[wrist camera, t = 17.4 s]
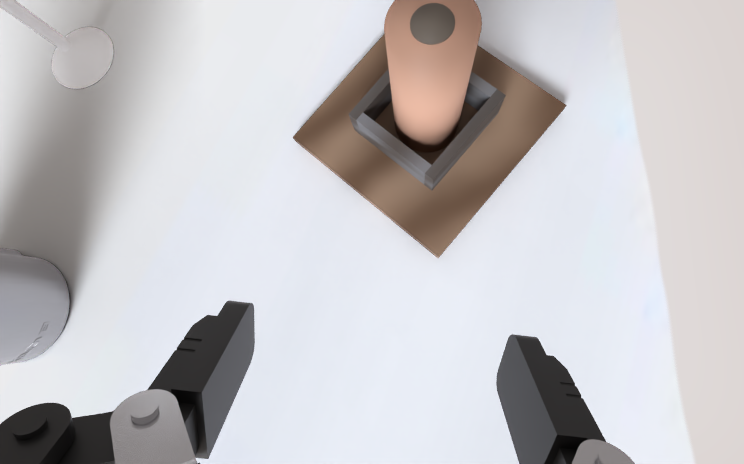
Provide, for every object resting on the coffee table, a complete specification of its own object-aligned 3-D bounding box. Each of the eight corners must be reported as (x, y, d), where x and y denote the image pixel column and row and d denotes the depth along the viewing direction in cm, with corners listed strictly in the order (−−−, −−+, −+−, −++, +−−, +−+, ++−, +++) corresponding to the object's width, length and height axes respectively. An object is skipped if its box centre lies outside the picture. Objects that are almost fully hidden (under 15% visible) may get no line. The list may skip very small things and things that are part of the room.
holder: (296, 141, 36) (281, 122, 32) (413, 9, 37) (412, -26, 33) (438, 258, 33) (440, 252, 29) (562, 111, 34) (581, 85, 30)
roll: (382, 128, 34) (364, 32, 22) (421, 82, 34) (425, -36, 22) (431, 164, 33) (440, 85, 21) (471, 117, 33) (502, 12, 21)
